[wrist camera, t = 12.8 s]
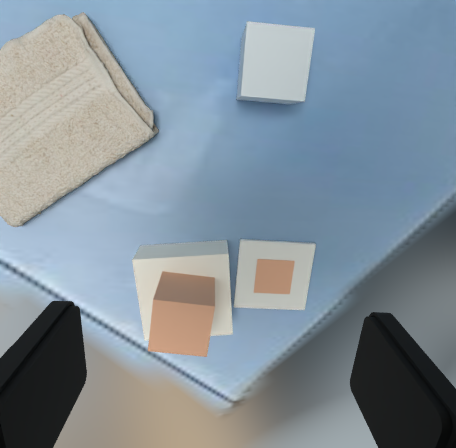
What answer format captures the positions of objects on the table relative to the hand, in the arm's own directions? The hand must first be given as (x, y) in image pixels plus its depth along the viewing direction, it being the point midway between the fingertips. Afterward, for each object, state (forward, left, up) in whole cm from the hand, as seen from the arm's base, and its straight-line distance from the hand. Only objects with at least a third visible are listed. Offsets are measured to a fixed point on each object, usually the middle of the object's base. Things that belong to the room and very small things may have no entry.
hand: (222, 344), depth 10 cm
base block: (+2, +10, -23) cm, 25 cm away
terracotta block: (+2, +10, -19) cm, 21 cm away
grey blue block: (-4, -11, -23) cm, 25 cm away
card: (-7, +9, -22) cm, 25 cm away
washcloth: (+16, -5, -23) cm, 28 cm away
